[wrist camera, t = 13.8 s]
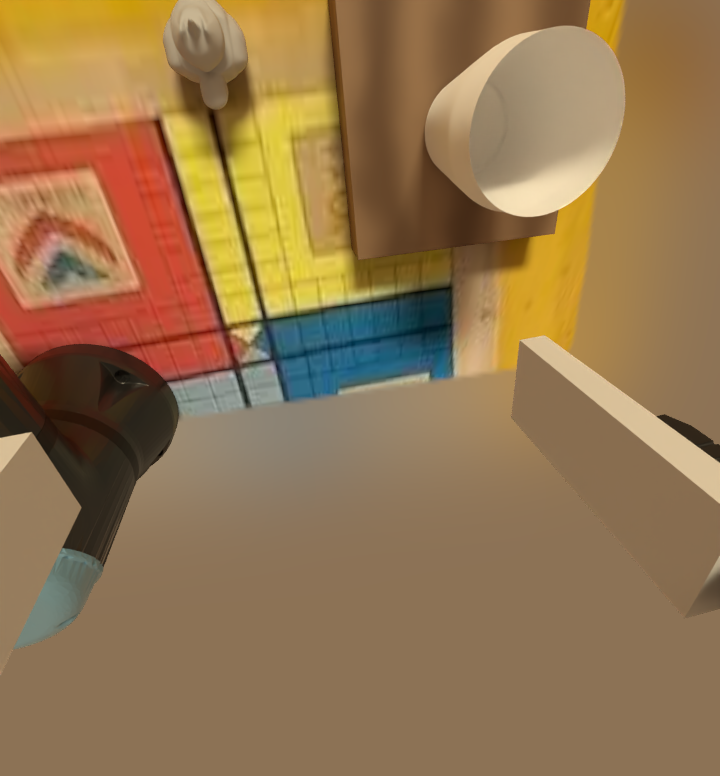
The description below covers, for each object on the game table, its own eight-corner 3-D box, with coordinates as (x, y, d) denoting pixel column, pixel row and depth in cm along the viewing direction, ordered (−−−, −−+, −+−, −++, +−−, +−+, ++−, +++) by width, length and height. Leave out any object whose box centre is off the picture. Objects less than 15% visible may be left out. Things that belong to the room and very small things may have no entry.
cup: (499, 200, 36) (583, 230, 26) (397, 183, 34) (446, 207, 24) (539, 70, 31) (660, 44, 21) (424, 41, 29) (498, -2, 19)
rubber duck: (239, -4, 30) (227, -42, 23) (257, 108, 33) (252, 104, 27) (159, -1, 29) (124, -38, 22) (187, 113, 33) (162, 110, 26)
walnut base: (351, 248, 40) (358, 259, 37) (327, -7, 30) (333, -23, 27) (532, 224, 42) (554, 233, 38) (563, -25, 32) (597, -43, 29)
